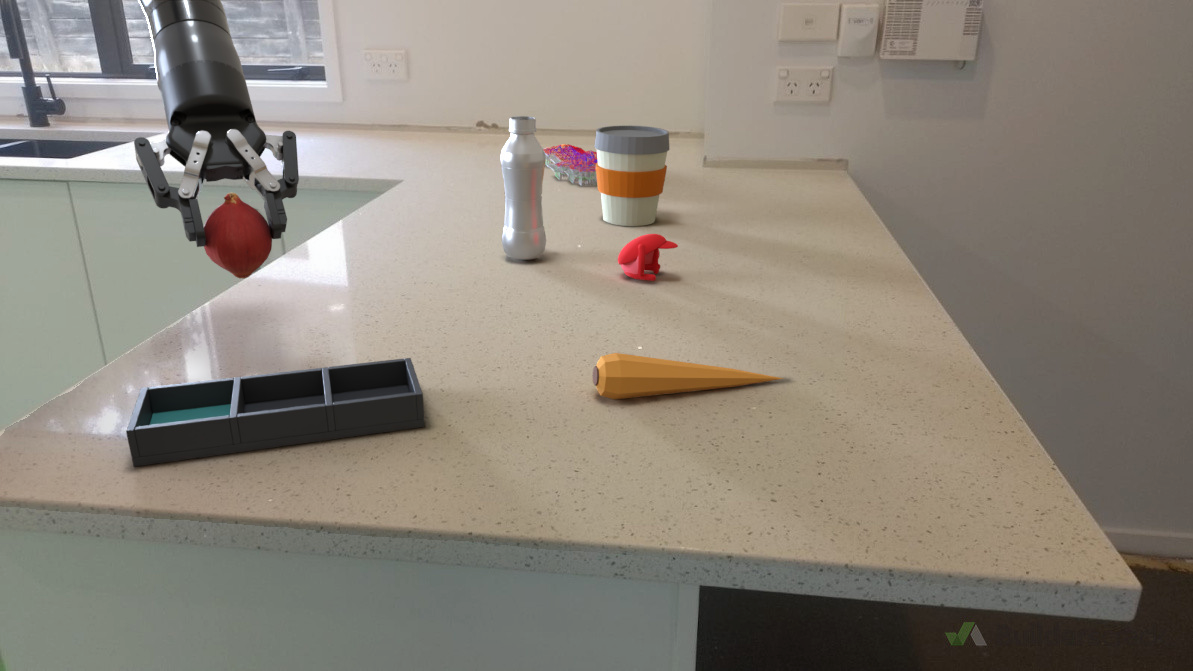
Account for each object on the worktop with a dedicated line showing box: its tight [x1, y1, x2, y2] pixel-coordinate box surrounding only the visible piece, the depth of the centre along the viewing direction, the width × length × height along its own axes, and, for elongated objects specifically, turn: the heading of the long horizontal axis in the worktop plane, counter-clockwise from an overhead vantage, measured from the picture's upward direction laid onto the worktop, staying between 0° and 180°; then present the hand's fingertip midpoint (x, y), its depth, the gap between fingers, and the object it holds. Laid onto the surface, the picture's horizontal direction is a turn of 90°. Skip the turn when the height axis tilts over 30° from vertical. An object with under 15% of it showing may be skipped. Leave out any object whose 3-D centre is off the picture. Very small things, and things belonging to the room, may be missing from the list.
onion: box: [203, 192, 273, 279], centre depth 76 cm, size 6×6×8 cm
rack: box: [125, 357, 426, 467], centre depth 74 cm, size 23×8×3 cm, turn 109°
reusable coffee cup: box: [594, 125, 671, 227], centre depth 142 cm, size 13×13×15 cm
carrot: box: [592, 352, 785, 400], centre depth 83 cm, size 20×4×4 cm, turn 103°
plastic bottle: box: [499, 115, 547, 261], centre depth 119 cm, size 6×7×20 cm
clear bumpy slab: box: [542, 143, 598, 187], centre depth 180 cm, size 30×15×5 cm, turn 15°
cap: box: [617, 233, 679, 282], centre depth 115 cm, size 8×6×6 cm
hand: (240, 237), depth 74 cm, fingers closed on onion, 5 cm apart
